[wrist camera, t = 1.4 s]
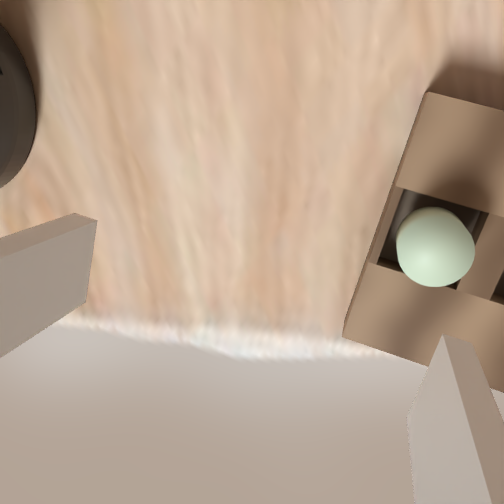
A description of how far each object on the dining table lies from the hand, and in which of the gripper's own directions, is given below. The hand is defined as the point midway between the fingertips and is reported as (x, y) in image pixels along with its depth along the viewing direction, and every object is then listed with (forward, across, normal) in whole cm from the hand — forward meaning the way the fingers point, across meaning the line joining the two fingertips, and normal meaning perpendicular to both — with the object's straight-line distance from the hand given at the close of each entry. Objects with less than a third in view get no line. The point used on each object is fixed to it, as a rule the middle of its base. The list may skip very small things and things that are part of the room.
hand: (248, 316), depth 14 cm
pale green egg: (+18, +7, 0) cm, 19 cm away
